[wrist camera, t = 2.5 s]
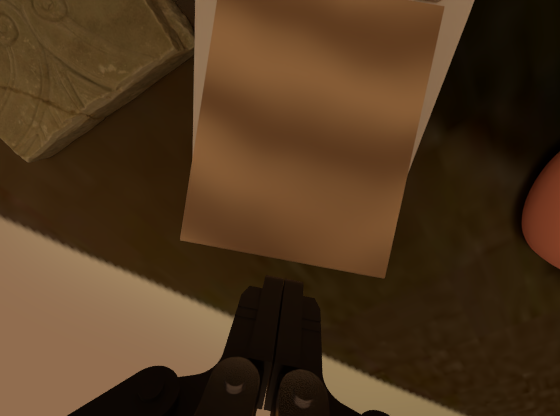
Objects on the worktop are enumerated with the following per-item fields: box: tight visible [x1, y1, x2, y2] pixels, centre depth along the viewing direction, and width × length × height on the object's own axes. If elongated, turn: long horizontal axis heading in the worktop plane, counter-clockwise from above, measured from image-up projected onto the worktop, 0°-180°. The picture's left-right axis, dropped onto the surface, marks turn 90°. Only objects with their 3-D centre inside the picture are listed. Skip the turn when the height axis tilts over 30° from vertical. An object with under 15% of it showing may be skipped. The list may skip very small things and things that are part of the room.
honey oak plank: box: [180, 0, 445, 279], centre depth 17 cm, size 15×12×2 cm
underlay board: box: [193, 0, 474, 172], centre depth 19 cm, size 22×16×2 cm
